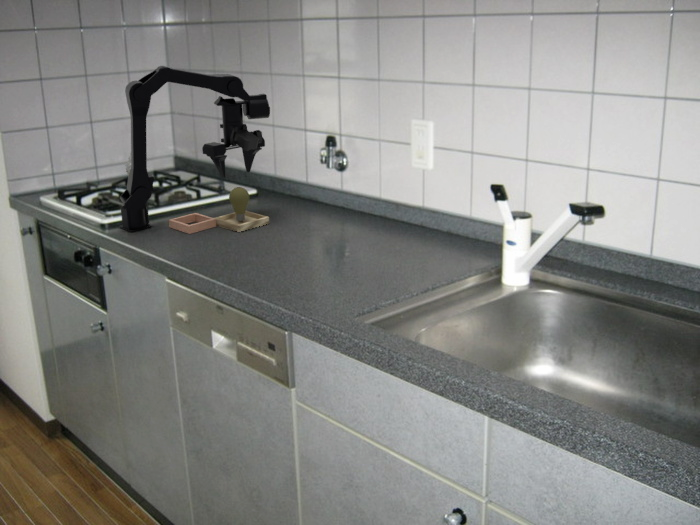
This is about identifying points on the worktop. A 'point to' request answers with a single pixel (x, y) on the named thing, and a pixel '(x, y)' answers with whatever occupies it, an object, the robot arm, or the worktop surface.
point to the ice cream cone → (128, 165)
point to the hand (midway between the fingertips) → (236, 174)
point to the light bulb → (239, 202)
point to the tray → (249, 222)
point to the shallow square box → (182, 224)
